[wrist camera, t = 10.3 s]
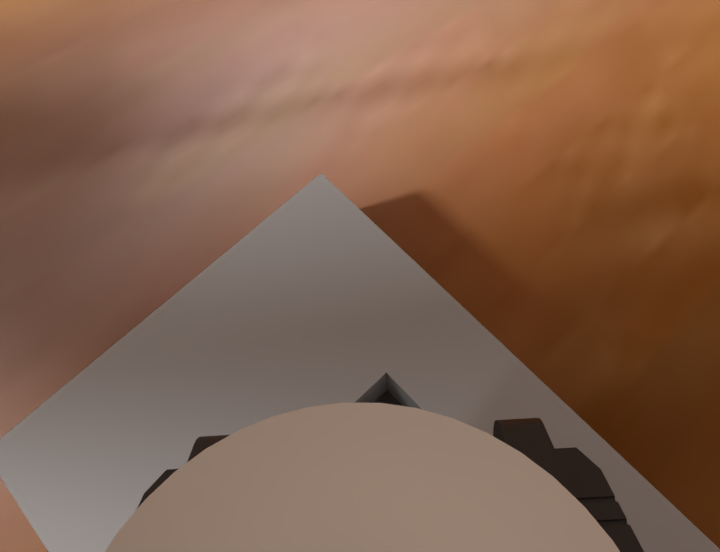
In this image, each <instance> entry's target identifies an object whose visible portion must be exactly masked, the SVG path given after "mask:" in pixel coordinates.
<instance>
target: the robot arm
mask: <svg viewBox="0 0 720 552" xmlns="http://www.w3.org/2000/svg"><path fill="white" fill-rule="evenodd" d="M228 436H229V435H217V436H200V437H198V438H197V439H196V441H195V443H194V446H193V448H192V451H191V453H190V456H189V459H188V461H187V462H189V461H190V460H191V459H193V458H194V457H195V456H197V455H198V454H199V453H201V452H202V451H204V450H205V449H206V448H208V447H210V446H212V445H213V444H215V443H217V442H219V441H220V440H222V439H224V438H226V437H228ZM493 436H494V437H495V438H497V439H499V440H501V441H502V442H504V443H506V444H507V445H509V446H511V447H513V448H514V449H516V450H518V451H520V452H521V453H523V454H524V455H525V456H526V457H528V458H529V459H530V460H532V461H533V462H534V463H536V464H537V465H538V466H540V467H541V468H542V469H544V470H545V471H546V472H548V473H549V474H550V475H552V476H553V477H554V478H555V479H556V480H557V481H558V482H559V483H560V484H562V485H563V486H564V487H565V488H566V489H567V490H568V491H569V492H570V493H571V494H572V495H573V496H574V497H575V498H576V499H577V500H578V501H579V502H580V503H581V504H582V505H583V506H584V507H585V508H586V509H587V510H588V511H589V513H590V514H591V515H592V516H593V517H594V519H595V520H596V521H597V522H598V523H599V525H600V526H601V527H602V528H603V529H604V531H605V532H606V533H607V534H608V535H609V537H610V538H611V539H612V540H613V542H614V543H615V545H616V546H617V548H618V549H619V551H620V552H644V551H643V549H642V547H641V545H640V543H639V541H638V539H637V537H636V535H635V534H634V532H633V530H632V528H631V526H630V525H628V524H627V518H626V516H625V514H624V512H623V511H622V509H621V507H620V505H619V503H618V501H617V502H616V500H615V495H614V493H613V491H612V489H611V488H610V486H609V484H608V482H607V480H606V478H605V476H604V474H603V472H602V470H601V469H600V468H599V467H598V466H597V465H596V464H594V463H593V462H592V461H591V460H590V459H589V458H588V457H587V456H586V455H584V454H583V453H582V452H581V451H580V450H579V449H578V448H577V447H573V448H554V446H553V444H552V442H551V439H550V437H549V435H548V433H547V430H546V428H545V426H544V424H543V422H542V420H541V419H540V418H524V419H506V420H495V422H494V427H493ZM176 470H178V469H167V470H166V471H165V472H164V473H163V474H162V475H161V476H160V477H159V478H158V479H157V480H156V481H155V482H154V483H153V484H152V485H151V487H150V488H149V489H148V490H147V491H146V492H145V493H144V494H143V497H142V499H141V501H140V503H139V506H140V505H141V504H142V503H143V502H144V500H145V499H146V498H147V497H148V496H149V495H150V494H152V493H153V492H154V491H155V490H156V489H157V488H158V487H159V486H160V485H161V484H162V483H163V482H164V481H165V480H166V479H168V478H169V477H170V476H171V475H172V474H173V473H174V472H175V471H176ZM139 506H138V507H139ZM137 509H138V508H137Z"/></svg>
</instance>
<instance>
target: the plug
mask: <svg viewBox="0 0 720 552" xmlns="http://www.w3.org/2000/svg"><path fill="white" fill-rule="evenodd" d="M105 552H620V551H619V549H618V548H617V546H616V545H615V543H614V542H613V540H612V539H611V538H610V537H609V535H608V534H607V533H606V532H605V531H604V529H603V528H602V527H601V526H600V525H599V523H598V522H597V521H596V520H595V519H594V517H593V516H592V515H591V514H590V513H589V511H588V510H587V509H586V508H585V507H584V506H583V505H582V504H581V503H580V502H579V501H578V500H577V499H576V498H575V497H574V496H573V495H572V494H571V493H570V492H569V491H568V490H567V489H566V488H565V487H564V486H563V485H562V484H560V483H559V482H558V481H557V480H556V479H555V478H554V477H553V476H552V475H550V474H549V473H548V472H546V471H545V470H544V469H542V468H541V467H540V466H538V465H537V464H536V463H534V462H533V461H532V460H530V459H529V458H528V457H526V456H525V455H524V454H523V453H521V452H520V451H518V450H516V449H514V448H513V447H511V446H509V445H507V444H506V443H504V442H502V441H501V440H499V439H497V438H495V437H494V436H492V435H490V434H488V433H487V432H484V431H482V430H480V429H477V428H475V427H472V426H470V425H468V424H465V423H463V422H461V421H458V420H456V419H453V418H451V417H447V416H444V415H440V414H436V413H433V412H429V411H426V410H422V409H418V408H413V407H406V406H399V405H392V404H385V403H336V404H328V405H320V406H312V407H306V408H303V409H299V410H295V411H291V412H287V413H283V414H280V415H276V416H272V417H270V418H267V419H265V420H263V421H260V422H258V423H255V424H253V425H250V426H248V427H245V428H243V429H240V430H238V431H236V432H235V433H233V434H231V435H229V436H228V437H226V438H224V439H222V440H220V441H219V442H217V443H215V444H213V445H212V446H210V447H208V448H206V449H205V450H204V451H202V452H201V453H199V454H198V455H197V456H195V457H194V458H193V459H191V460H190V461H189V462H187V463H186V464H185V465H183V466H182V467H180V468H179V469H178V470H176V471H175V472H174V473H173V474H172V475H171V476H170V477H169V478H168V479H166V480H165V481H164V482H163V483H162V484H161V485H160V486H159V487H158V488H157V489H156V490H155V491H154V492H153V493H152V494H150V495H149V496H148V497H147V498H146V499H145V500H144V502H143V503H142V504H141V505H140V506H139V507H138V509H137V510H136V511H135V512H134V513H133V515H132V516H131V517H130V518H129V519H128V520H127V522H126V523H125V524H124V525H123V526H122V528H121V529H120V530H119V531H118V533H117V534H116V536H115V537H114V539H113V540H112V542H111V543H110V545H109V546H108V547H107V549H106V550H105Z"/></svg>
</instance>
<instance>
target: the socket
mask: <svg viewBox="0 0 720 552" xmlns="http://www.w3.org/2000/svg"><path fill="white" fill-rule="evenodd" d="M336 403H385V404H392V405H399V406H406V407H413V408H418V409H422V410H426V411H429V412H433V413H436V414H440V415H444V416H447V417H451V418H453V419H456V420H458V421H461V422H463V423H465V424H468V425H470V426H472V427H475V428H477V429H480V430H482V431H484V432H487V433H488V434H490V435H492V436H493V427H494V422H495V420H506V419H524V418H540V419H541V420H542V422H543V424H544V426H545V428H546V430H547V433H548V435H549V437H550V439H551V442H552V444H553V446H554V448H573V447H577V448H578V449H579V450H580V451H581V452H582V453H583V454H584V455H586V456H587V457H588V458H589V459H590V460H591V461H592V462H593V463H594V464H596V465H597V466H598V467H599V468H600V469H601V470H602V472H603V474H604V476H605V478H606V480H607V482H608V484H609V486H610V488H611V489H612V491H613V493H614V495H615V500H616V502H617V501H618V503H619V505H620V507H621V509H622V511H623V512H624V514H625V516H626V518H627V524H628V525H630V526H631V528H632V530H633V532H634V534H635V535H636V537H637V539H638V541H639V543H640V545H641V547H642V549H643V551H644V552H720V549H719V548H718V547H717V546H716V545H715V544H714V543H713V542H712V541H711V540H710V539H709V538H708V537H707V536H706V535H704V534H703V533H702V532H701V531H700V530H699V529H698V528H697V527H696V526H695V525H694V524H693V523H692V522H691V521H690V520H689V519H687V518H686V517H685V516H684V515H683V514H682V513H681V512H680V511H679V510H678V509H677V508H676V507H675V506H674V505H673V504H672V503H671V502H669V501H668V500H667V499H666V498H665V497H664V496H663V495H662V494H661V493H660V492H659V491H658V490H657V489H656V488H655V487H654V486H652V485H651V484H650V483H649V482H648V481H647V480H646V479H645V478H644V477H643V476H642V475H641V474H640V473H639V472H638V471H637V470H636V469H634V468H633V467H632V466H631V465H630V464H629V463H628V462H627V461H626V460H625V459H624V458H623V457H622V456H621V455H620V454H619V453H618V452H616V451H615V450H614V449H613V448H612V447H611V446H610V445H609V444H608V443H607V442H606V441H605V440H604V439H603V438H602V437H601V436H599V435H598V434H597V433H596V432H595V431H594V430H593V429H592V428H591V427H590V426H589V425H588V424H587V423H586V422H585V421H584V420H583V419H581V418H580V417H579V416H578V415H577V414H576V413H575V412H574V411H573V410H572V409H571V408H570V407H569V406H568V405H567V404H566V403H565V402H563V401H562V400H561V399H560V398H559V397H558V396H557V395H556V394H555V393H554V392H553V391H552V390H551V389H550V388H549V387H548V386H546V385H545V384H544V383H543V382H542V381H541V380H540V379H539V378H538V377H537V376H536V375H535V374H534V373H533V372H532V371H531V370H530V369H528V368H527V367H526V366H525V365H524V364H523V363H522V362H521V361H520V360H519V359H518V358H517V357H516V356H515V355H514V354H513V353H512V352H510V351H509V350H508V349H507V348H506V347H505V346H504V345H503V344H502V343H501V342H500V341H499V340H498V339H497V338H496V337H495V336H493V335H492V334H491V333H490V332H489V331H488V330H487V329H486V328H485V327H484V326H483V325H482V324H481V323H480V322H479V321H478V320H477V319H475V318H474V317H473V316H472V315H471V314H470V313H469V312H468V311H467V310H466V309H465V308H464V307H463V306H462V305H461V304H460V303H458V302H457V301H456V300H455V299H454V298H453V297H452V296H451V295H450V294H449V293H448V292H447V291H446V290H445V289H444V288H443V287H442V286H440V285H439V284H438V283H437V282H436V281H435V280H434V279H433V278H432V277H431V276H430V275H429V274H428V273H427V272H426V271H425V270H424V269H422V268H421V267H420V266H419V265H418V264H417V263H416V262H415V261H414V260H413V259H412V258H411V257H410V256H409V255H408V254H407V253H405V252H404V251H403V250H402V249H401V248H400V247H399V246H398V245H397V244H396V243H395V242H394V241H393V240H392V239H391V238H390V237H389V236H387V235H386V234H385V233H384V232H383V231H382V230H381V229H380V228H379V227H378V226H377V225H376V224H375V223H374V222H373V221H372V220H371V219H369V218H368V217H367V216H366V215H365V214H364V213H363V212H362V211H361V210H360V209H359V208H358V207H357V206H356V205H355V204H354V203H352V202H351V201H350V200H349V199H348V198H347V197H346V196H345V195H344V194H343V193H342V192H341V191H340V190H339V189H338V188H337V187H336V186H334V185H333V184H332V183H331V182H330V181H329V180H328V179H327V178H326V177H325V176H324V175H323V174H322V173H321V174H319V175H318V176H317V177H316V178H315V179H313V180H312V181H311V182H310V183H309V184H307V185H306V186H305V187H304V188H302V189H301V190H300V191H299V192H298V193H296V194H295V195H294V196H293V197H292V198H290V199H289V200H288V201H287V202H286V203H284V204H283V205H282V206H281V207H280V208H278V209H277V210H276V211H275V212H273V213H272V214H271V215H270V216H269V217H267V218H266V219H265V220H264V221H263V222H261V223H260V224H259V225H258V226H257V227H255V228H254V229H253V230H252V231H250V232H249V233H248V234H247V235H246V236H244V237H243V238H242V239H241V240H240V241H238V242H237V243H236V244H235V245H234V246H232V247H231V248H230V249H229V250H228V251H226V252H225V253H224V254H223V255H221V256H220V257H219V258H218V259H217V260H215V261H214V262H213V263H212V264H211V265H209V266H208V267H207V268H206V269H205V270H203V271H202V272H201V273H200V274H198V275H197V276H196V277H195V278H194V279H192V280H191V281H190V282H189V283H188V284H186V285H185V286H184V287H183V288H182V289H180V290H179V291H178V292H177V293H176V294H174V295H173V296H172V297H171V298H169V299H168V300H167V301H166V302H165V303H163V304H162V305H161V306H160V307H159V308H157V309H156V310H155V311H154V312H153V313H151V314H150V315H149V316H148V317H146V318H145V319H144V320H143V321H142V322H140V323H139V324H138V325H137V326H136V327H134V328H133V329H132V330H131V331H130V332H128V333H127V334H126V335H125V336H124V337H122V338H121V339H120V340H119V341H117V342H116V343H115V344H114V345H113V346H111V347H110V348H109V349H108V350H107V351H105V352H104V353H103V354H102V355H101V356H99V357H98V358H97V359H96V360H94V361H93V362H92V363H91V364H90V365H88V366H87V367H86V368H85V369H84V370H82V371H81V372H80V373H79V374H78V375H76V376H75V377H74V378H73V379H72V380H70V381H69V382H68V383H67V384H65V385H64V386H63V387H62V388H61V389H59V390H58V391H57V392H56V393H55V394H53V395H52V396H51V397H50V398H49V399H47V400H46V401H45V402H44V403H42V404H41V405H40V406H39V407H38V408H36V409H35V410H34V411H33V412H32V413H30V414H29V415H28V416H27V417H26V418H24V419H23V420H22V421H21V422H20V423H18V424H17V425H16V426H15V427H13V428H12V429H11V430H10V431H9V432H7V433H6V434H5V435H4V436H3V437H1V438H0V478H1V479H2V481H3V482H4V484H5V485H6V487H7V489H8V490H9V492H10V493H11V495H12V496H13V498H14V499H15V501H16V502H17V504H18V505H19V507H20V509H21V510H22V512H23V513H24V515H25V516H26V518H27V519H28V521H29V522H30V524H31V526H32V527H33V529H34V530H35V532H36V533H37V535H38V536H39V538H40V539H41V541H42V542H43V544H44V546H45V547H46V549H47V550H48V552H105V550H106V549H107V547H108V546H109V545H110V543H111V542H112V540H113V539H114V537H115V536H116V534H117V533H118V531H119V530H120V529H121V528H122V526H123V525H124V524H125V523H126V522H127V520H128V519H129V518H130V517H131V516H132V515H133V513H134V512H135V511H136V510H137V508H138V506H139V503H140V501H141V499H142V497H143V494H144V493H145V492H146V491H147V490H148V489H149V488H150V487H151V485H152V484H153V483H154V482H155V481H156V480H157V479H158V478H159V477H160V476H161V475H162V474H163V473H164V472H165V471H166V470H167V469H179V468H180V467H182V466H183V465H185V464H186V463H187V461H188V459H189V456H190V453H191V451H192V448H193V446H194V443H195V441H196V439H197V438H198V437H200V436H217V435H231V434H233V433H235V432H236V431H238V430H240V429H243V428H245V427H248V426H250V425H253V424H255V423H258V422H260V421H263V420H265V419H267V418H270V417H272V416H276V415H280V414H283V413H287V412H291V411H295V410H299V409H303V408H306V407H312V406H320V405H328V404H336Z"/></svg>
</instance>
